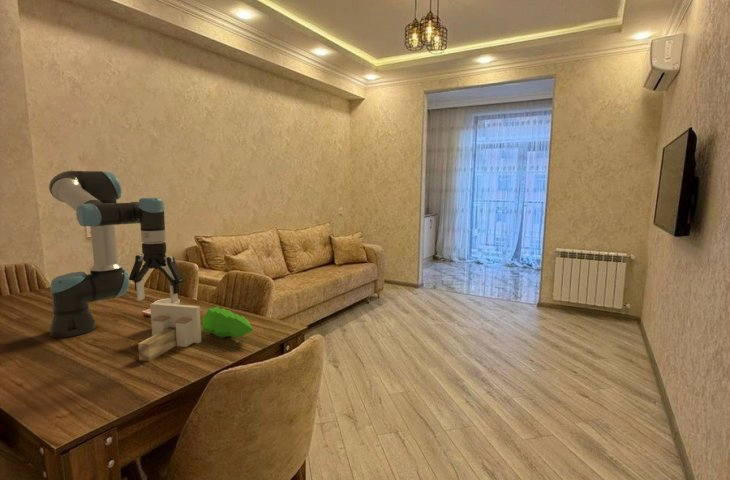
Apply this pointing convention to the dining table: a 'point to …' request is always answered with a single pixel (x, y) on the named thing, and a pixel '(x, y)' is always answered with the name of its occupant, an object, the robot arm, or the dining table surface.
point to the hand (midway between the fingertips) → (157, 301)
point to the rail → (157, 344)
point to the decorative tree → (224, 323)
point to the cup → (166, 301)
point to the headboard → (177, 321)
